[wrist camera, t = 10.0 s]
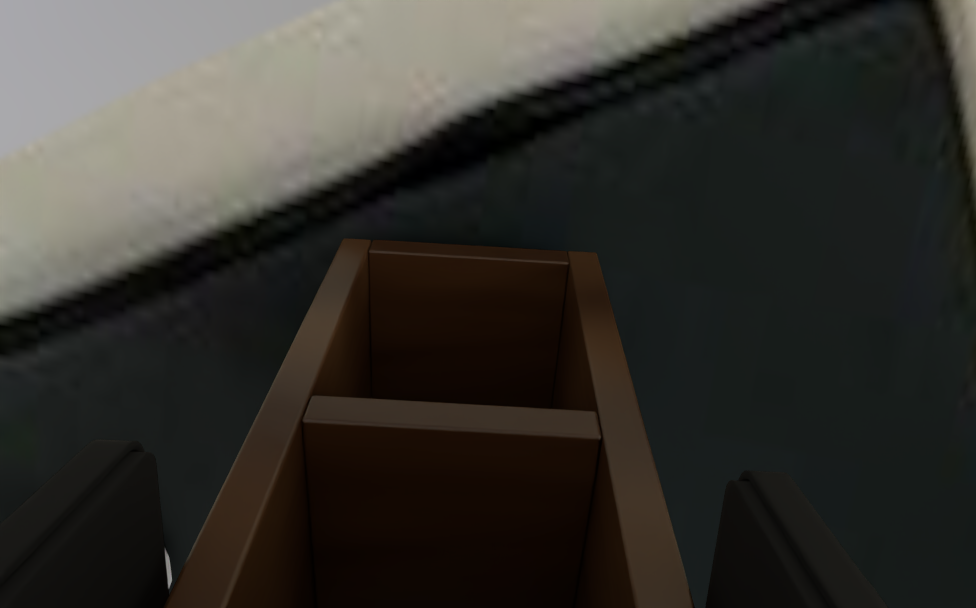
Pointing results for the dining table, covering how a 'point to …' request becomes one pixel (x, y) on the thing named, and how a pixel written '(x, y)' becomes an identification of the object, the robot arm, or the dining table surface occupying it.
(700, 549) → the dining table surface
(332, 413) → the brown wooden shelf box
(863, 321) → the dining table surface
